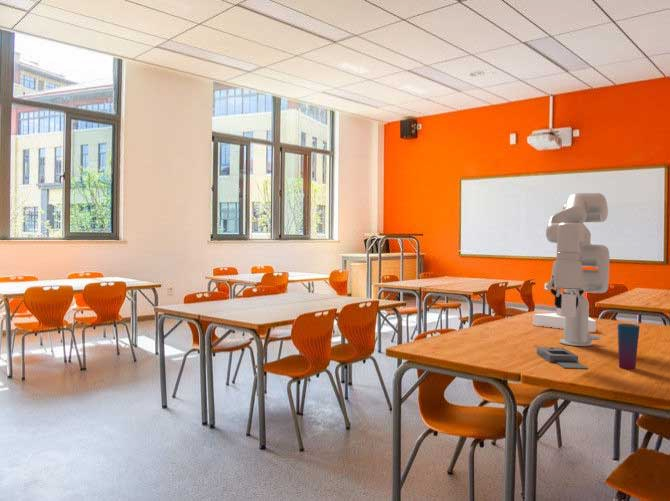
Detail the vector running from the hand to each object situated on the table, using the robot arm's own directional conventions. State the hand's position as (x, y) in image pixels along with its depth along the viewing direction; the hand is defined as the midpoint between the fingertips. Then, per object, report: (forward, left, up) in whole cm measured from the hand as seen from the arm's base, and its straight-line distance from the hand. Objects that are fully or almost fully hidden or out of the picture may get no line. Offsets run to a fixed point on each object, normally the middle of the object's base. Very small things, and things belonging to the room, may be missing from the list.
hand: (566, 307), depth 200 cm
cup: (-20, +5, -20) cm, 29 cm away
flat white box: (-34, -85, -21) cm, 94 cm away
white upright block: (0, 0, -3) cm, 3 cm away
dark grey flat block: (0, -8, -20) cm, 21 cm away
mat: (-1, +5, -20) cm, 21 cm away
